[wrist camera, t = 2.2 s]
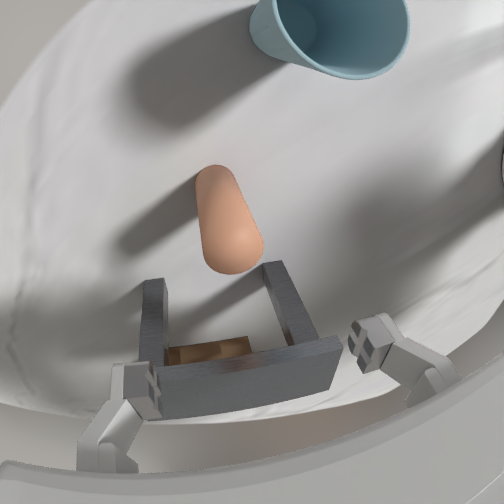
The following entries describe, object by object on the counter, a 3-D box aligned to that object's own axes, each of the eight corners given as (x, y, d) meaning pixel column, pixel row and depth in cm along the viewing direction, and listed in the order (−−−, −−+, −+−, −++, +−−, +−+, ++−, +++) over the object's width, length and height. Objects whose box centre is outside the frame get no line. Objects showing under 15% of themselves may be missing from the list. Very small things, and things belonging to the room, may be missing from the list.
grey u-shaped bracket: (287, 243, 30) (343, 347, 19) (285, 288, 33) (328, 389, 23) (135, 265, 28) (121, 384, 17) (149, 309, 31) (148, 421, 20)
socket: (247, 336, 37) (254, 361, 33) (250, 383, 44) (256, 405, 40) (152, 349, 35) (152, 376, 32) (174, 394, 42) (175, 417, 38)
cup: (212, 22, 17) (234, -14, 9) (287, -28, 15) (353, -72, 7) (276, 90, 21) (338, 107, 13) (343, 40, 19) (430, 39, 11)
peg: (234, 162, 24) (263, 219, 16) (236, 199, 26) (263, 269, 18) (192, 167, 24) (199, 227, 16) (197, 204, 26) (206, 278, 18)
